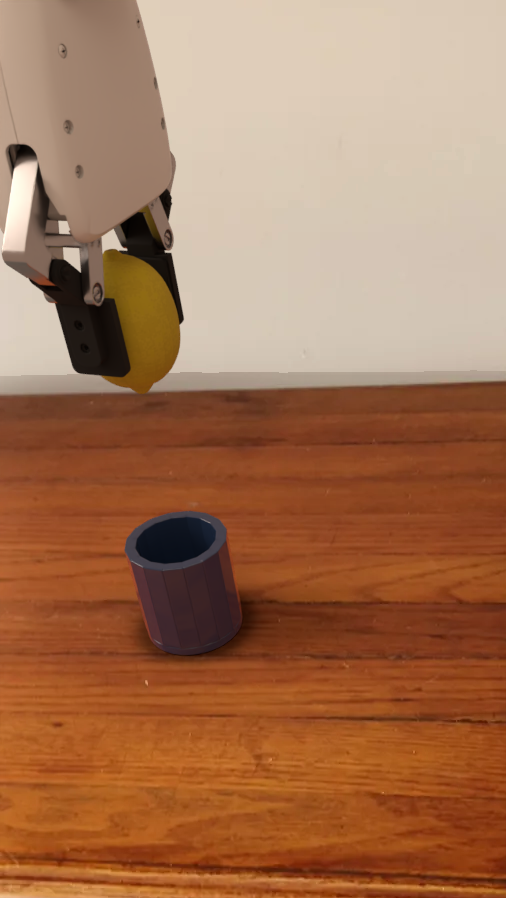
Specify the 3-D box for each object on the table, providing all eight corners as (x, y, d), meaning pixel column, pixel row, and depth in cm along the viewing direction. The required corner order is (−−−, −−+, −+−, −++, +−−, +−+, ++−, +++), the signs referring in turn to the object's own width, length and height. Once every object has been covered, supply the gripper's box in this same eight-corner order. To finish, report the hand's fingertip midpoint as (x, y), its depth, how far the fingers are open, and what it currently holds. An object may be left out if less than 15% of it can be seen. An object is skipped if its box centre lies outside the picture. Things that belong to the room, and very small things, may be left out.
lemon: (174, 363, 57) (146, 224, 52) (204, 399, 53) (177, 253, 48) (83, 386, 55) (45, 245, 50) (108, 426, 52) (69, 278, 46)
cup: (131, 646, 63) (106, 561, 59) (174, 588, 68) (153, 505, 63) (219, 662, 62) (200, 576, 57) (257, 601, 66) (242, 517, 62)
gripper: (66, -75, 48) (143, 285, 60) (-174, -24, 36) (-17, 415, 48) (202, -83, 46) (254, 291, 58) (-3, -31, 34) (116, 429, 46)
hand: (130, 344), depth 52 cm, fingers closed on lemon, 5 cm apart
